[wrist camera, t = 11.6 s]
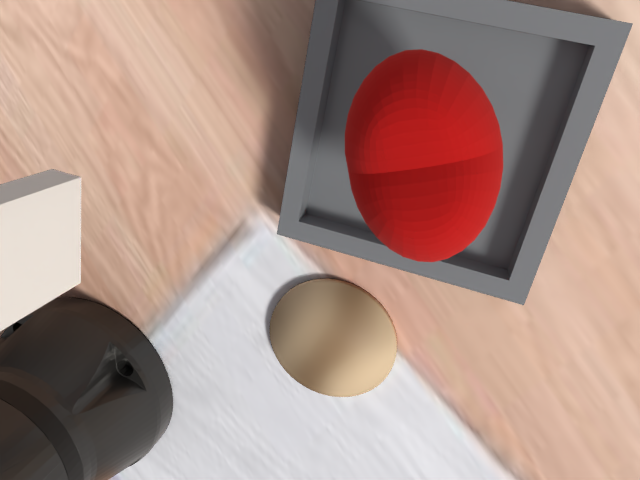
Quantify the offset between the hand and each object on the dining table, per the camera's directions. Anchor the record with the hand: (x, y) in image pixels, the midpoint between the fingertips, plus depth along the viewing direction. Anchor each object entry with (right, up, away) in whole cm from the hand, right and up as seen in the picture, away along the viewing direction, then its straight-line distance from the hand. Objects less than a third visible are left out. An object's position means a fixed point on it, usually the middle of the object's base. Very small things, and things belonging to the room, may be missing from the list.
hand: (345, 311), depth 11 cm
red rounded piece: (+6, +7, +19) cm, 21 cm away
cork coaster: (0, -5, +26) cm, 26 cm away
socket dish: (+6, +7, +20) cm, 22 cm away
